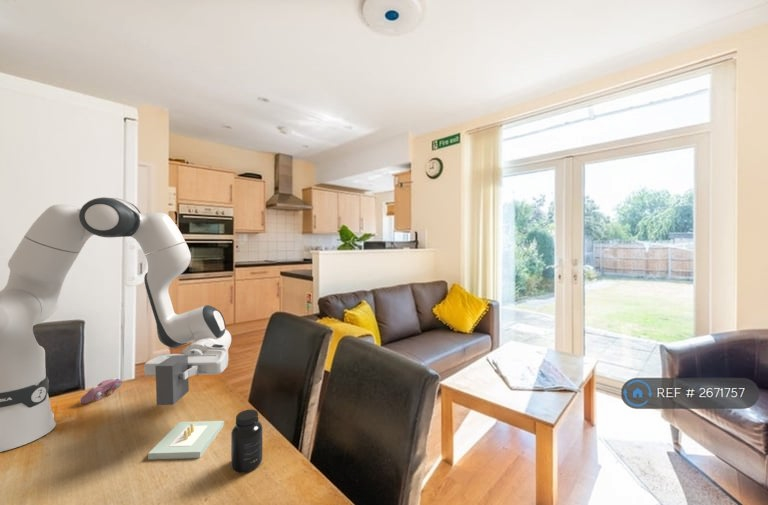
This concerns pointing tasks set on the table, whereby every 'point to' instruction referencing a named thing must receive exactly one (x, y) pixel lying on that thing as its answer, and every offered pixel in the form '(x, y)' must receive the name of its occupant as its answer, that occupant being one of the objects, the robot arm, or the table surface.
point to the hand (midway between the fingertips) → (170, 376)
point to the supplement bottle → (246, 442)
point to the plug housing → (171, 380)
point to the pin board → (187, 440)
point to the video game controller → (101, 390)
